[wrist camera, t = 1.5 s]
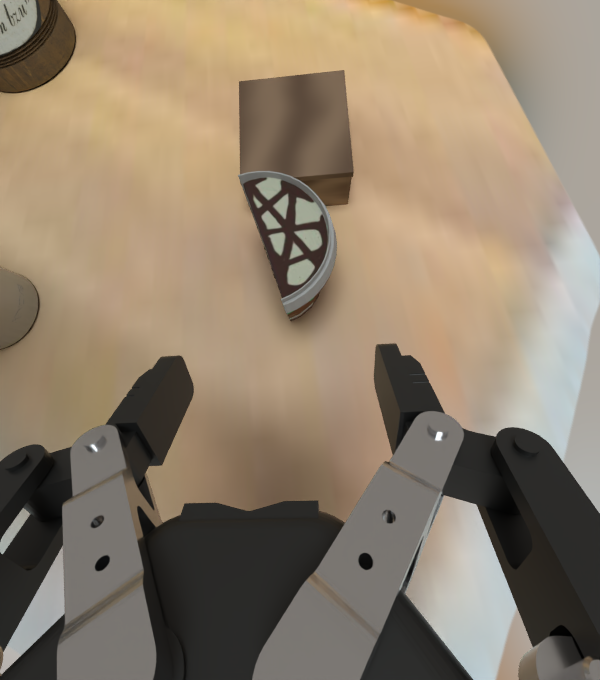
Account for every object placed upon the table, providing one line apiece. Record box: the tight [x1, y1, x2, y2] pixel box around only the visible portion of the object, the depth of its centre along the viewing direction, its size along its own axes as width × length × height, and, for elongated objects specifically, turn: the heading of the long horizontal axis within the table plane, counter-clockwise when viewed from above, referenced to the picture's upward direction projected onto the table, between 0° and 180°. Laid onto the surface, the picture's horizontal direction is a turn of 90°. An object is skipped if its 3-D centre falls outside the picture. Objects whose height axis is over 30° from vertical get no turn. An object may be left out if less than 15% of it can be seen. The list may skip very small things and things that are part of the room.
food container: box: [238, 171, 337, 321], centre depth 28 cm, size 12×6×10 cm, turn 19°
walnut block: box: [239, 70, 353, 206], centre depth 33 cm, size 11×12×5 cm
